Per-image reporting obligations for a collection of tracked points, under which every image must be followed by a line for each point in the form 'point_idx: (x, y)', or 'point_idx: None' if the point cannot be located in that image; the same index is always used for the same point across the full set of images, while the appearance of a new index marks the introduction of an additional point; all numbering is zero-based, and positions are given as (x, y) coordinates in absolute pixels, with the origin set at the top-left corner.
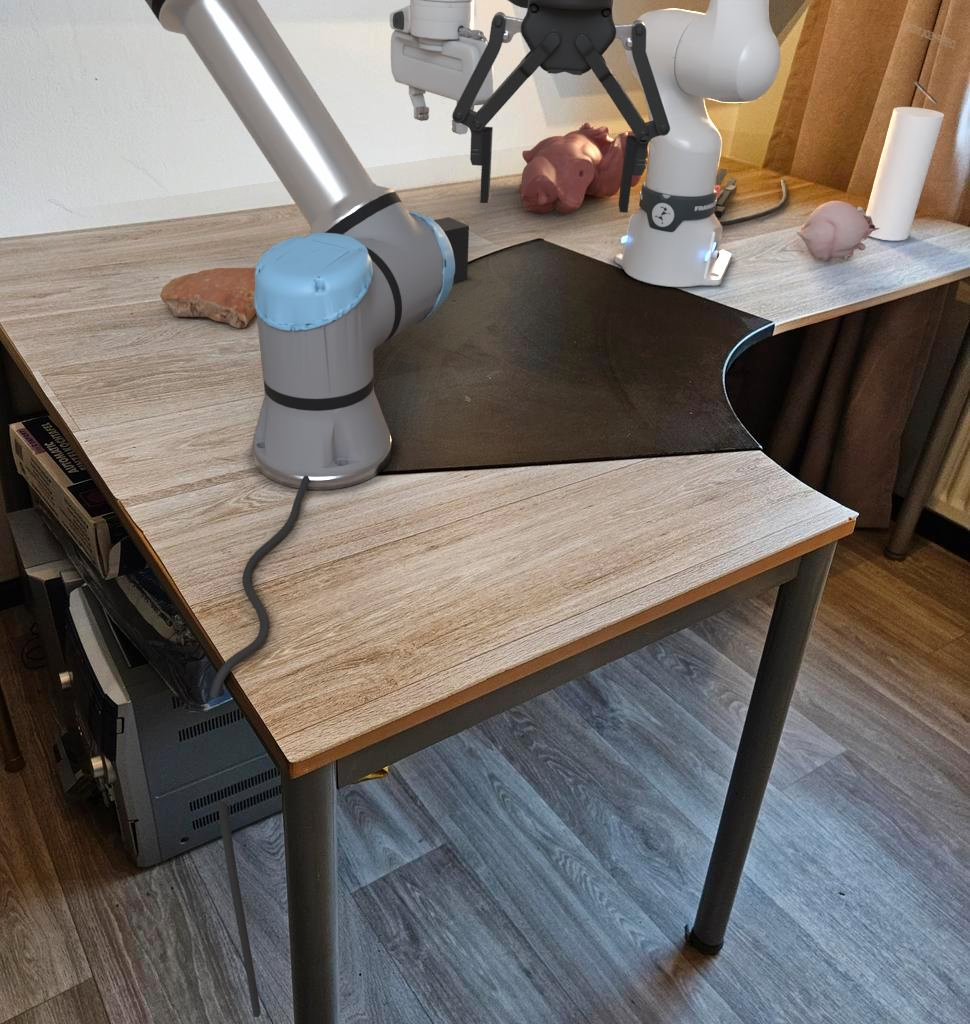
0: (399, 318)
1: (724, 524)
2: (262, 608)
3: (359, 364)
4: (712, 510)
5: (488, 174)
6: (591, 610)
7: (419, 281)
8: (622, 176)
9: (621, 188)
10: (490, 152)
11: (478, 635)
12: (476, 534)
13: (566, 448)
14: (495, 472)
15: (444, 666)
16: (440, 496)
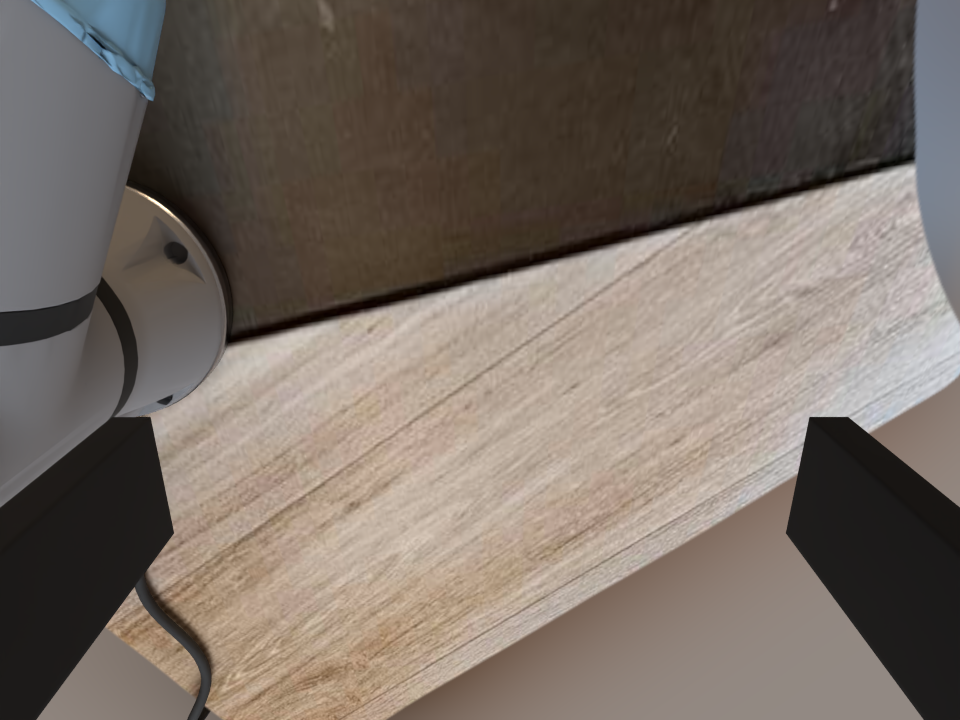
0: (91, 295)
1: (775, 407)
2: (187, 646)
3: (85, 427)
4: (768, 373)
5: (97, 632)
6: (558, 591)
7: (68, 209)
8: (889, 542)
9: (847, 533)
10: (13, 689)
11: (431, 637)
12: (407, 472)
13: (543, 209)
14: (418, 310)
15: (402, 677)
16: (339, 390)
